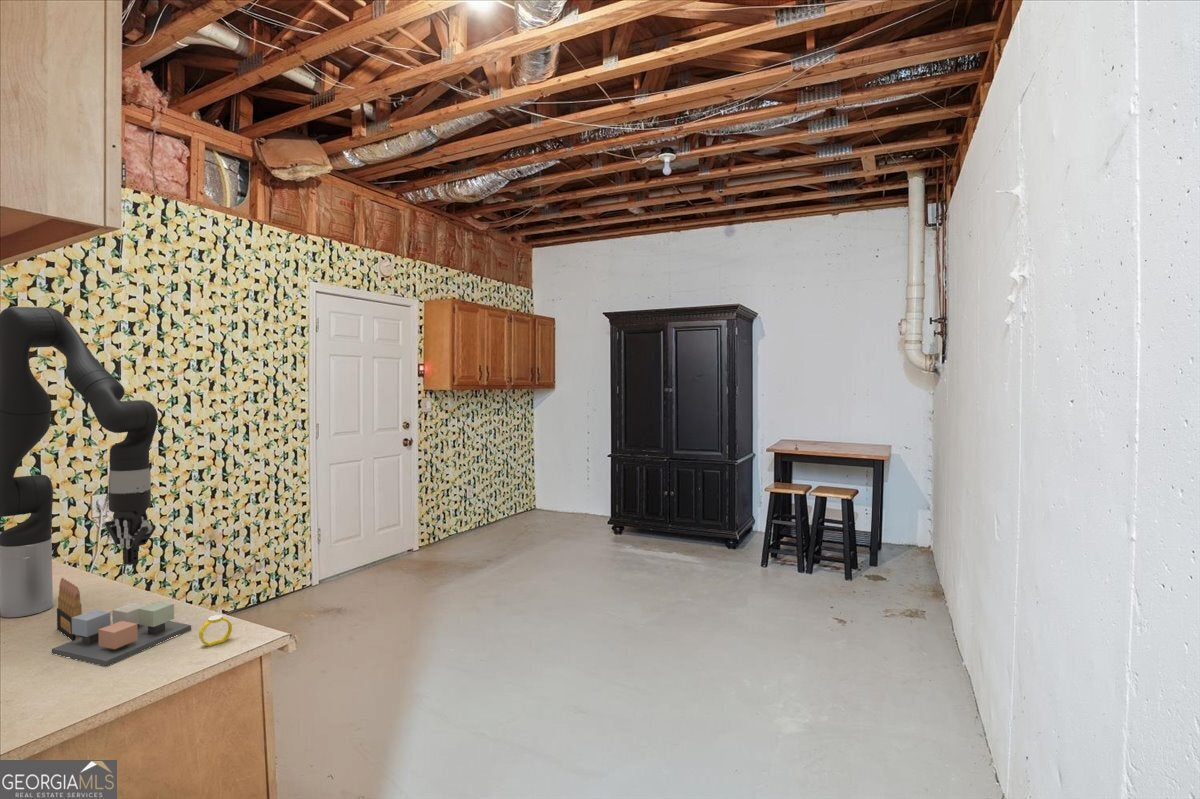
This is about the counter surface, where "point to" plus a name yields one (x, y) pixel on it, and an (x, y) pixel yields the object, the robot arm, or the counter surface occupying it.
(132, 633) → the terracotta key
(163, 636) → the keypad board
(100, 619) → the slate key
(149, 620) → the sage key
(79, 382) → the robot arm
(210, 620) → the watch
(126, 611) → the cream key
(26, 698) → the counter surface
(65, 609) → the ammunition clip
